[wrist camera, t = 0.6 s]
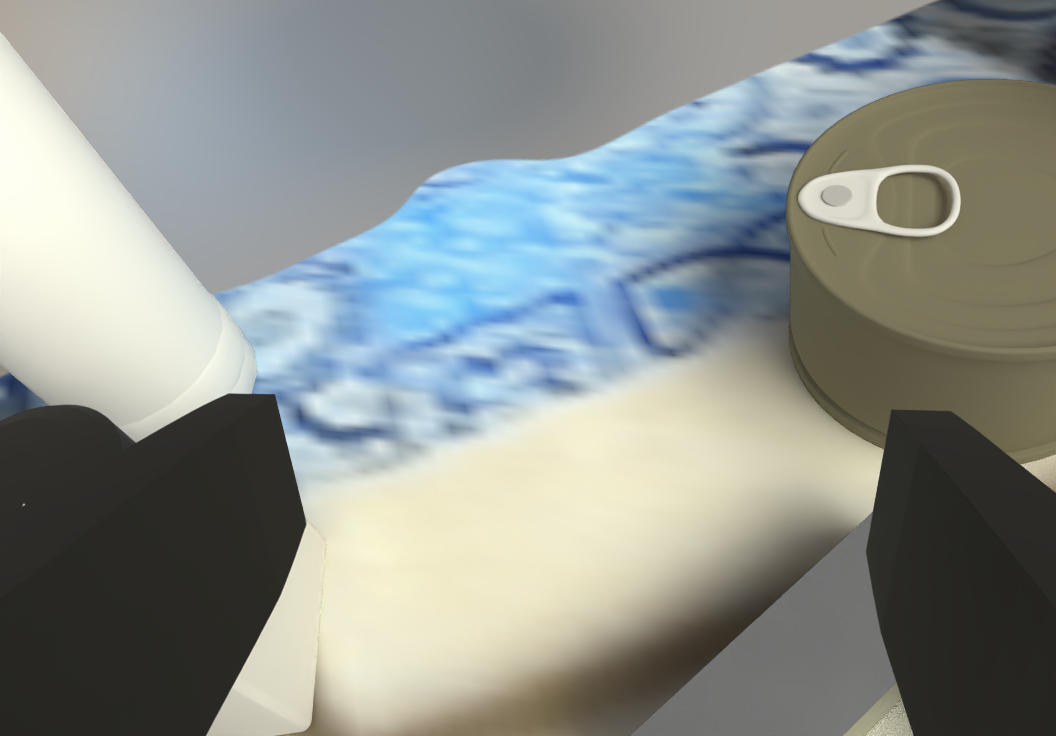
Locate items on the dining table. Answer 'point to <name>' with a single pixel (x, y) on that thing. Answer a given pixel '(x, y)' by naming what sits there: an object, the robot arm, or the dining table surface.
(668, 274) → the dining table surface
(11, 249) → the bottle
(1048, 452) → the can
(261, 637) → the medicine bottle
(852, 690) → the block with rectangular hole
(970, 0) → the dining table surface
